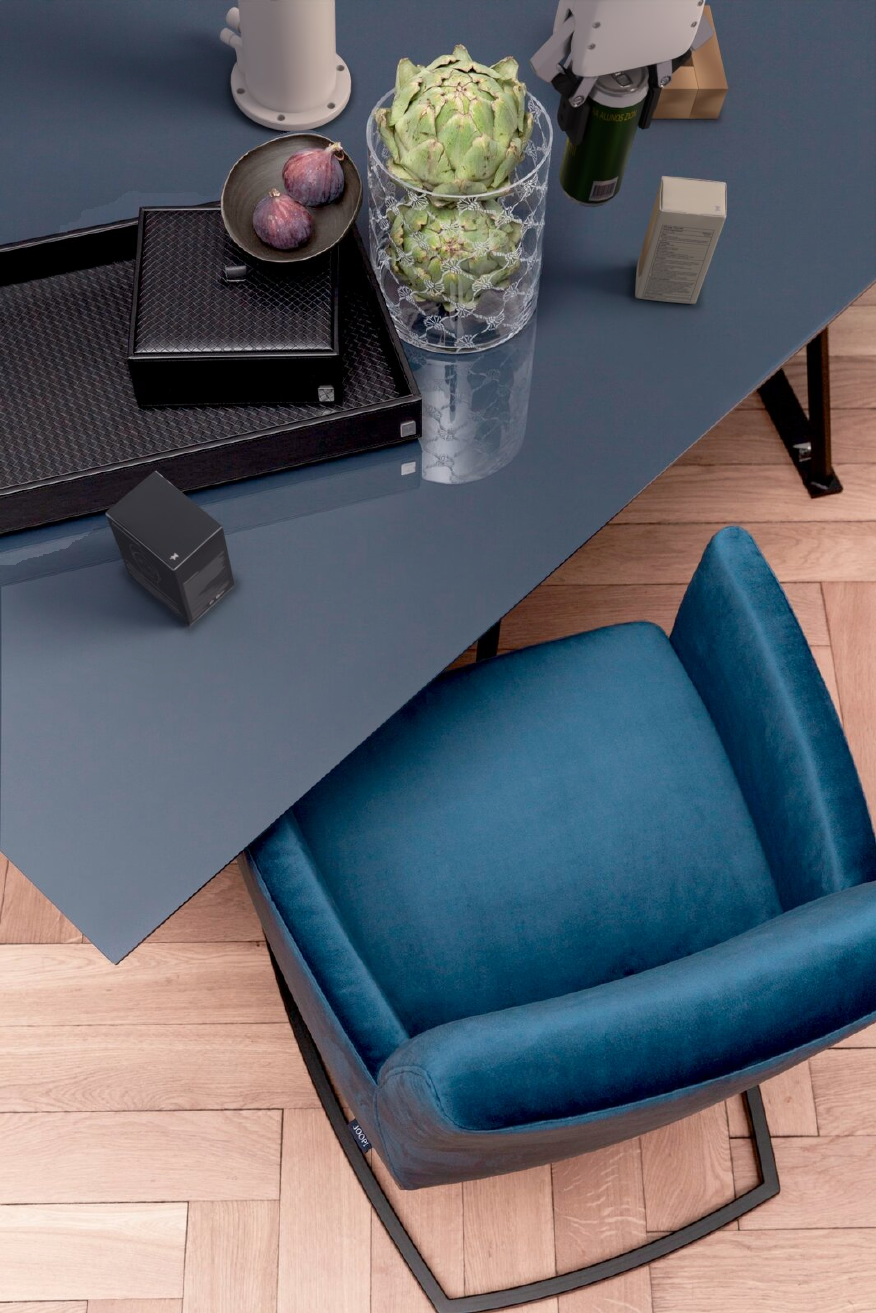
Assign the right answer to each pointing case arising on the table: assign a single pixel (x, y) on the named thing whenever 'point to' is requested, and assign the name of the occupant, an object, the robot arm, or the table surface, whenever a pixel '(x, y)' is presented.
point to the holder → (696, 84)
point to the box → (172, 547)
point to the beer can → (605, 138)
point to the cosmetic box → (680, 239)
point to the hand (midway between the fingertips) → (604, 123)
